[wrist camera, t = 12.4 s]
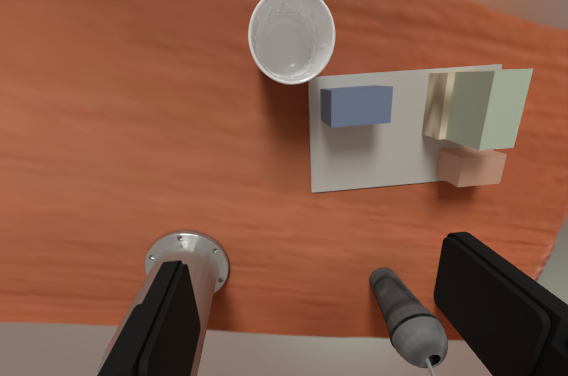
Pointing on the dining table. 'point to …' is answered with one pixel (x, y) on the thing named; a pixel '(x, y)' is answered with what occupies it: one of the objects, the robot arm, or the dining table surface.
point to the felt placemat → (377, 135)
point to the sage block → (487, 107)
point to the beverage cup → (409, 321)
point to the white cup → (291, 39)
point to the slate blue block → (356, 105)
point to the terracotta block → (470, 166)
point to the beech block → (438, 103)
